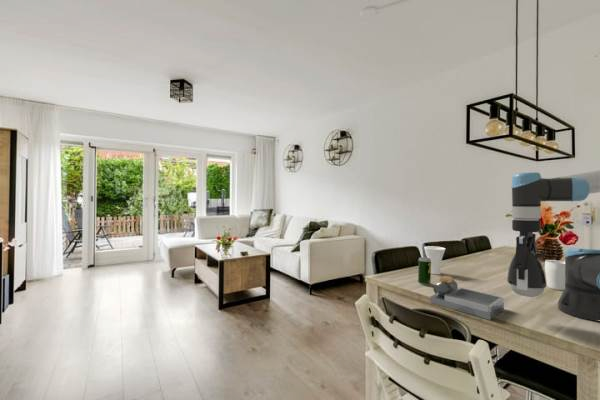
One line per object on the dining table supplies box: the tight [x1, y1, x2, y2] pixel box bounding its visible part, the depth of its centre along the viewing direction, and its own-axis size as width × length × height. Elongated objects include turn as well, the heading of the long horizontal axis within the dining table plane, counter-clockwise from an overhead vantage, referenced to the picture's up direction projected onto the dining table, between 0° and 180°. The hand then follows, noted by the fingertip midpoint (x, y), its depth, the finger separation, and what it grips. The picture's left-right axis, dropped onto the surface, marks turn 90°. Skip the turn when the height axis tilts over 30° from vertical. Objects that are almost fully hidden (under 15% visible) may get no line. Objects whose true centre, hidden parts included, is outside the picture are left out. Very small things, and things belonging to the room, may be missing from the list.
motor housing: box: [429, 275, 505, 321], centre depth 108 cm, size 20×15×9 cm
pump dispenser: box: [506, 250, 548, 298], centre depth 96 cm, size 10×10×15 cm
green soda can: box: [417, 256, 432, 286], centre depth 135 cm, size 5×5×12 cm
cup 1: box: [423, 245, 446, 275], centre depth 154 cm, size 10×10×14 cm
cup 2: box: [544, 259, 565, 291], centre depth 131 cm, size 9×9×12 cm
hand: (526, 285), depth 96 cm, fingers closed on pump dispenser, 10 cm apart
